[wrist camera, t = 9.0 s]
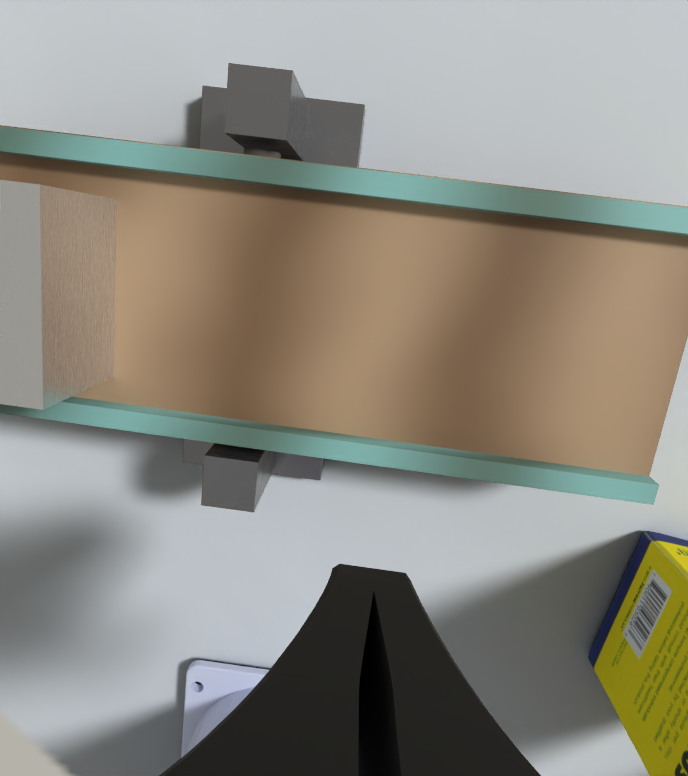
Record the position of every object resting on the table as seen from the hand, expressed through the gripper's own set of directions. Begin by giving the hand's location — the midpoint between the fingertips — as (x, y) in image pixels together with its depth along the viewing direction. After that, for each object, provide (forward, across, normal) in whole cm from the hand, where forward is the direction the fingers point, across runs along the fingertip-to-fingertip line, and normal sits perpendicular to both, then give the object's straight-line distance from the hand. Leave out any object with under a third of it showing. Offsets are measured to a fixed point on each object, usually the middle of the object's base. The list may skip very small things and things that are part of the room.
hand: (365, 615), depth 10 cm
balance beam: (+8, +3, -4) cm, 9 cm away
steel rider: (+7, +10, -4) cm, 13 cm away
